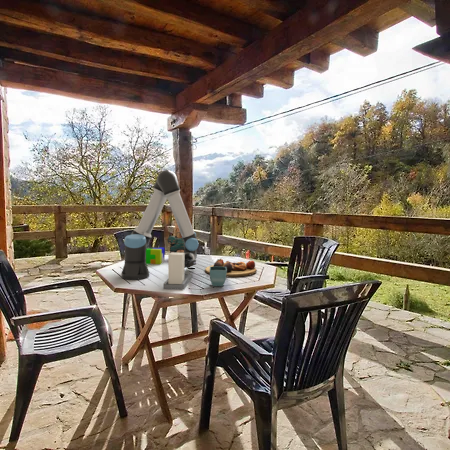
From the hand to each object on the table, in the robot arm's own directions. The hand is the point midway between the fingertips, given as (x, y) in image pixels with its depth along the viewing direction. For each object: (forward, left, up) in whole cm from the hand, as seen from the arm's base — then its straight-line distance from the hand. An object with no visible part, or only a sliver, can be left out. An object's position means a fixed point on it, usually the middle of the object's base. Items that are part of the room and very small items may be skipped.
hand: (179, 268), depth 165 cm
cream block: (-1, -3, -7) cm, 8 cm away
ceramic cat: (-13, +68, -9) cm, 70 cm away
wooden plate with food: (+25, +33, -9) cm, 43 cm away
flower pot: (+20, 0, -9) cm, 22 cm away
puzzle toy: (-28, +52, -9) cm, 60 cm away
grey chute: (-1, +2, -8) cm, 9 cm away
